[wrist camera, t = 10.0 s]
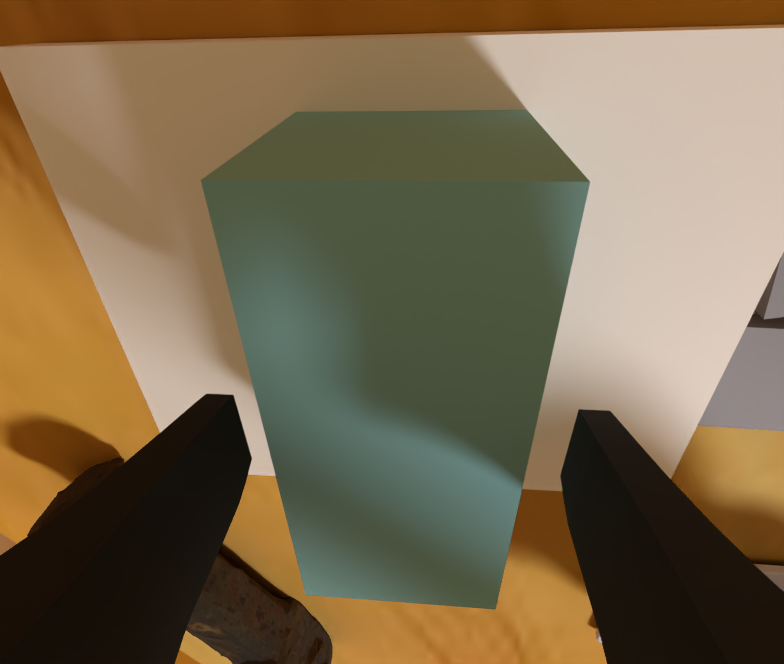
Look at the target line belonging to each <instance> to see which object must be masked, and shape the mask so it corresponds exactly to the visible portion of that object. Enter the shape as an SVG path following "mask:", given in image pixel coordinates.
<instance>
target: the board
mask: <svg viewBox="0 0 784 664" xmlns="http://www.w3.org/2000/svg"><path fill="white" fill-rule="evenodd" d="M0 71H1V74H2V76H3V78H4V80H5V83H6V85H7V87H8V90H9V92H10V94H11V96H12V99H13V101H14V103H15V105H16V108H17V110H18V112H19V114H20V117H21V119H22V121H23V123H24V126H25V128H26V130H27V132H28V135H29V137H30V139H31V142H32V144H33V146H34V148H35V151H36V153H37V155H38V157H39V160H40V162H41V164H42V166H43V169H44V171H45V173H46V175H47V178H48V180H49V182H50V184H51V187H52V189H53V191H54V194H55V196H56V198H57V200H58V203H59V205H60V207H61V209H62V212H63V214H64V216H65V218H66V221H67V223H68V225H69V227H70V230H71V232H72V234H73V236H74V239H75V241H76V243H77V245H78V248H79V250H80V252H81V255H82V257H83V259H84V261H85V264H86V266H87V268H88V270H89V273H90V275H91V277H92V279H93V282H94V284H95V286H96V288H97V291H98V293H99V295H100V297H101V300H102V302H103V304H104V307H105V309H106V311H107V313H108V316H109V318H110V320H111V322H112V325H113V327H114V329H115V331H116V334H117V336H118V338H119V340H120V343H121V345H122V347H123V349H124V352H125V354H126V356H127V359H128V361H129V363H130V365H131V368H132V370H133V372H134V374H135V377H136V379H137V381H138V383H139V386H140V388H141V390H142V392H143V395H144V397H145V399H146V401H147V404H148V406H149V408H150V411H151V413H152V415H153V417H154V420H155V422H156V424H157V426H158V429H159V431H160V433H161V432H162V431H163V430H164V429H165V428H166V427H168V426H169V425H170V424H171V423H172V422H173V421H175V420H176V419H177V418H178V417H179V416H180V415H181V414H183V413H184V412H185V411H186V410H187V409H188V408H190V407H191V406H192V405H193V404H194V403H195V402H197V401H198V400H199V399H200V398H202V397H203V396H204V395H205V394H228V395H234V398H235V402H236V405H237V409H238V412H239V416H240V419H241V422H242V426H243V429H244V433H245V436H246V440H247V443H248V447H249V450H250V453H251V457H252V461H251V465H250V468H249V472H248V474H249V475H268V476H276V475H275V471H274V467H273V463H272V459H271V455H270V451H269V448H268V444H267V440H266V436H265V432H264V428H263V424H262V420H261V416H260V412H259V408H258V404H257V400H256V396H255V392H254V388H253V384H252V381H251V377H250V373H249V369H248V365H247V361H246V357H245V353H244V349H243V345H242V341H241V337H240V333H239V329H238V325H237V321H236V317H235V314H234V310H233V306H232V302H231V298H230V294H229V290H228V286H227V282H226V278H225V274H224V270H223V266H222V262H221V258H220V254H219V250H218V247H217V243H216V239H215V235H214V231H213V227H212V223H211V219H210V215H209V211H208V207H207V203H206V199H205V195H204V191H203V187H202V183H201V180H202V179H203V178H204V177H206V176H207V175H209V174H210V173H211V172H213V171H214V170H216V169H217V168H218V167H220V166H221V165H222V164H224V163H225V162H227V161H228V160H229V159H231V158H232V157H234V156H235V155H236V154H238V153H239V152H241V151H242V150H243V149H245V148H246V147H248V146H249V145H250V144H252V143H253V142H254V141H256V140H257V139H259V138H260V137H261V136H263V135H264V134H266V133H267V132H268V131H270V130H271V129H273V128H274V127H275V126H277V125H278V124H279V123H281V122H282V121H284V120H285V119H286V118H288V117H289V116H291V115H292V114H293V113H295V112H324V111H452V110H528V111H529V113H530V114H531V115H532V116H533V117H534V118H535V119H536V121H537V122H538V123H539V124H540V125H541V126H542V127H543V129H544V130H545V131H546V132H547V133H548V134H549V135H550V137H551V138H552V139H553V140H554V141H555V142H556V143H557V144H558V146H559V147H560V148H561V149H562V150H563V151H564V152H565V154H566V155H567V156H568V157H569V158H570V159H571V160H572V162H573V163H574V164H575V165H576V166H577V167H578V168H579V170H580V171H581V172H582V173H583V174H584V175H585V176H586V178H587V179H588V180H589V181H590V185H589V190H588V194H587V199H586V203H585V208H584V212H583V217H582V221H581V226H580V230H579V235H578V239H577V244H576V248H575V253H574V257H573V262H572V267H571V271H570V276H569V280H568V285H567V289H566V294H565V298H564V303H563V307H562V312H561V316H560V321H559V325H558V330H557V334H556V339H555V343H554V348H553V352H552V357H551V361H550V366H549V370H548V375H547V379H546V384H545V388H544V393H543V397H542V402H541V406H540V411H539V415H538V420H537V424H536V429H535V433H534V438H533V442H532V447H531V451H530V456H529V460H528V465H527V469H526V474H525V479H524V483H523V488H522V489H529V490H548V491H562V484H561V478H560V474H561V471H562V467H563V464H564V460H565V456H566V453H567V449H568V446H569V442H570V439H571V435H572V431H573V428H574V424H575V421H576V417H577V413H578V410H579V409H583V410H607V411H611V412H612V413H613V415H614V416H615V417H616V418H617V419H618V420H619V421H620V422H621V423H622V425H623V426H624V427H625V428H626V429H627V430H628V431H629V433H630V434H631V435H632V436H633V437H634V438H635V440H636V441H637V442H638V443H639V444H640V445H641V446H642V448H643V449H644V450H645V451H646V452H647V453H648V454H649V456H650V457H651V458H652V459H653V460H654V461H655V462H656V463H657V465H658V466H659V467H660V468H661V469H662V470H663V471H664V472H665V473H666V475H667V476H668V477H669V478H670V479H671V478H672V476H673V474H674V472H675V470H676V468H677V466H678V464H679V462H680V460H681V458H682V455H683V453H684V451H685V449H686V447H687V445H688V443H689V441H690V439H691V437H692V435H693V433H694V431H695V429H696V427H697V425H698V423H699V421H700V419H701V417H702V415H703V413H704V411H705V409H706V407H707V405H708V403H709V401H710V399H711V397H712V395H713V393H714V391H715V389H716V387H717V385H718V383H719V381H720V379H721V377H722V375H723V373H724V371H725V369H726V367H727V365H728V363H729V361H730V359H731V357H732V355H733V353H734V351H735V349H736V347H737V345H738V343H739V341H740V339H741V337H742V335H743V333H744V331H745V329H746V327H747V325H748V323H749V321H750V319H751V317H752V315H753V313H754V311H755V308H756V306H757V304H758V302H759V300H760V298H761V296H762V294H763V292H764V290H765V288H766V286H767V284H768V282H769V280H770V278H771V276H772V274H773V272H774V270H775V268H776V266H777V264H778V262H779V260H780V258H781V256H782V254H783V252H784V24H779V25H740V26H700V27H660V28H621V29H581V30H541V31H502V32H462V33H422V34H383V35H343V36H303V37H264V38H224V39H185V40H145V41H105V42H66V43H35V44H23V45H12V46H0Z"/></svg>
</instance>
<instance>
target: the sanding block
mask: <svg viewBox="0 0 784 664" xmlns="http://www.w3.org/2000/svg"><path fill="white" fill-rule="evenodd" d="M201 183H202V187H203V191H204V195H205V199H206V203H207V207H208V211H209V215H210V219H211V223H212V227H213V231H214V235H215V239H216V243H217V247H218V250H219V254H220V258H221V262H222V266H223V270H224V274H225V278H226V282H227V286H228V290H229V294H230V298H231V302H232V306H233V310H234V314H235V317H236V321H237V325H238V329H239V333H240V337H241V341H242V345H243V349H244V353H245V357H246V361H247V365H248V369H249V373H250V377H251V381H252V384H253V388H254V392H255V396H256V400H257V404H258V408H259V412H260V416H261V420H262V424H263V428H264V432H265V436H266V440H267V444H268V448H269V451H270V455H271V459H272V463H273V467H274V471H275V475H276V479H277V483H278V487H279V491H280V495H281V499H282V503H283V507H284V511H285V515H286V518H287V522H288V526H289V530H290V534H291V538H292V542H293V546H294V550H295V554H296V558H297V562H298V566H299V570H300V574H301V578H302V582H303V586H304V589H305V593H306V595H314V596H327V597H341V598H354V599H367V600H380V601H393V602H406V603H419V604H432V605H445V606H458V607H472V608H485V609H496V605H497V600H498V596H499V591H500V587H501V582H502V578H503V573H504V569H505V564H506V560H507V555H508V551H509V546H510V542H511V537H512V533H513V528H514V524H515V519H516V515H517V510H518V506H519V501H520V497H521V492H522V488H523V483H524V479H525V474H526V469H527V465H528V460H529V456H530V451H531V447H532V442H533V438H534V433H535V429H536V424H537V420H538V415H539V411H540V406H541V402H542V397H543V393H544V388H545V384H546V379H547V375H548V370H549V366H550V361H551V357H552V352H553V348H554V343H555V339H556V334H557V330H558V325H559V321H560V316H561V312H562V307H563V303H564V298H565V294H566V289H567V285H568V280H569V276H570V271H571V267H572V262H573V257H574V253H575V248H576V244H577V239H578V235H579V230H580V226H581V221H582V217H583V212H584V208H585V203H586V199H587V194H588V190H589V185H590V181H589V180H588V179H587V178H586V176H585V175H584V174H583V173H582V172H581V171H580V170H579V168H578V167H577V166H576V165H575V164H574V163H573V162H572V160H571V159H570V158H569V157H568V156H567V155H566V154H565V152H564V151H563V150H562V149H561V148H560V147H559V146H558V144H557V143H556V142H555V141H554V140H553V139H552V138H551V137H550V135H549V134H548V133H547V132H546V131H545V130H544V129H543V127H542V126H541V125H540V124H539V123H538V122H537V121H536V119H535V118H534V117H533V116H532V115H531V114H530V113H529V111H528V110H452V111H324V112H295V113H293V114H292V115H291V116H289V117H288V118H286V119H285V120H284V121H282V122H281V123H279V124H278V125H277V126H275V127H274V128H273V129H271V130H270V131H268V132H267V133H266V134H264V135H263V136H261V137H260V138H259V139H257V140H256V141H254V142H253V143H252V144H250V145H249V146H248V147H246V148H245V149H243V150H242V151H241V152H239V153H238V154H236V155H235V156H234V157H232V158H231V159H229V160H228V161H227V162H225V163H224V164H222V165H221V166H220V167H218V168H217V169H216V170H214V171H213V172H211V173H210V174H209V175H207V176H206V177H204V178H203V179H202V180H201Z"/></svg>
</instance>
